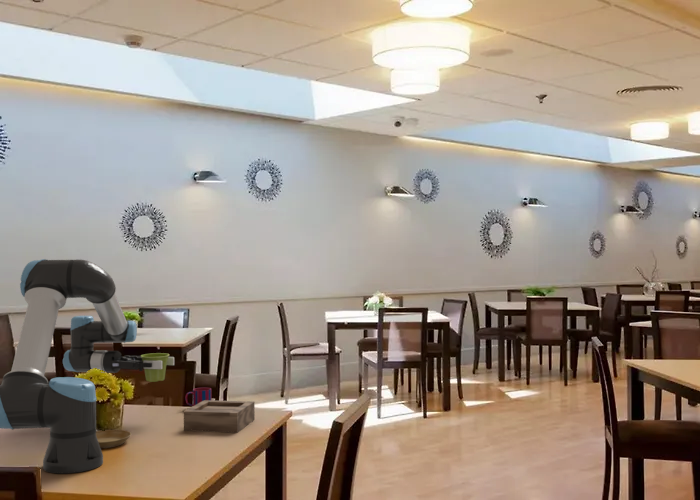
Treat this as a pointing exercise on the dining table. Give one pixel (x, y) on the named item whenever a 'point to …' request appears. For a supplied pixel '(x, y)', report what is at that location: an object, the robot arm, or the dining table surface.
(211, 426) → the walnut plant stand
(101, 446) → the plant saucer
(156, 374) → the plant pot
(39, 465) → the dining table surface
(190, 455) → the dining table surface
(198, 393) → the mug
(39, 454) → the dining table surface
